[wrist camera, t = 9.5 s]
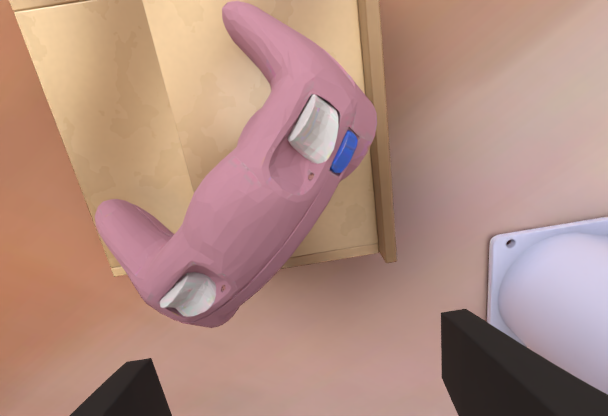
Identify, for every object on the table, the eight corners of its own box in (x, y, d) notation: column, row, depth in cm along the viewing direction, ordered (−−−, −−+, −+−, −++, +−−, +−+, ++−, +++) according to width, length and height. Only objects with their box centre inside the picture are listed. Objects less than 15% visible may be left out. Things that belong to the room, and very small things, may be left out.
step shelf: (346, -43, 15) (373, -99, 10) (371, 223, 19) (397, 261, 14) (33, 6, 14) (-71, -31, 10) (126, 263, 18) (79, 314, 14)
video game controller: (191, 244, 16) (227, 377, 11) (87, 210, 13) (70, 369, 8) (320, 67, 14) (439, 130, 9) (229, -20, 11) (329, -1, 6)
